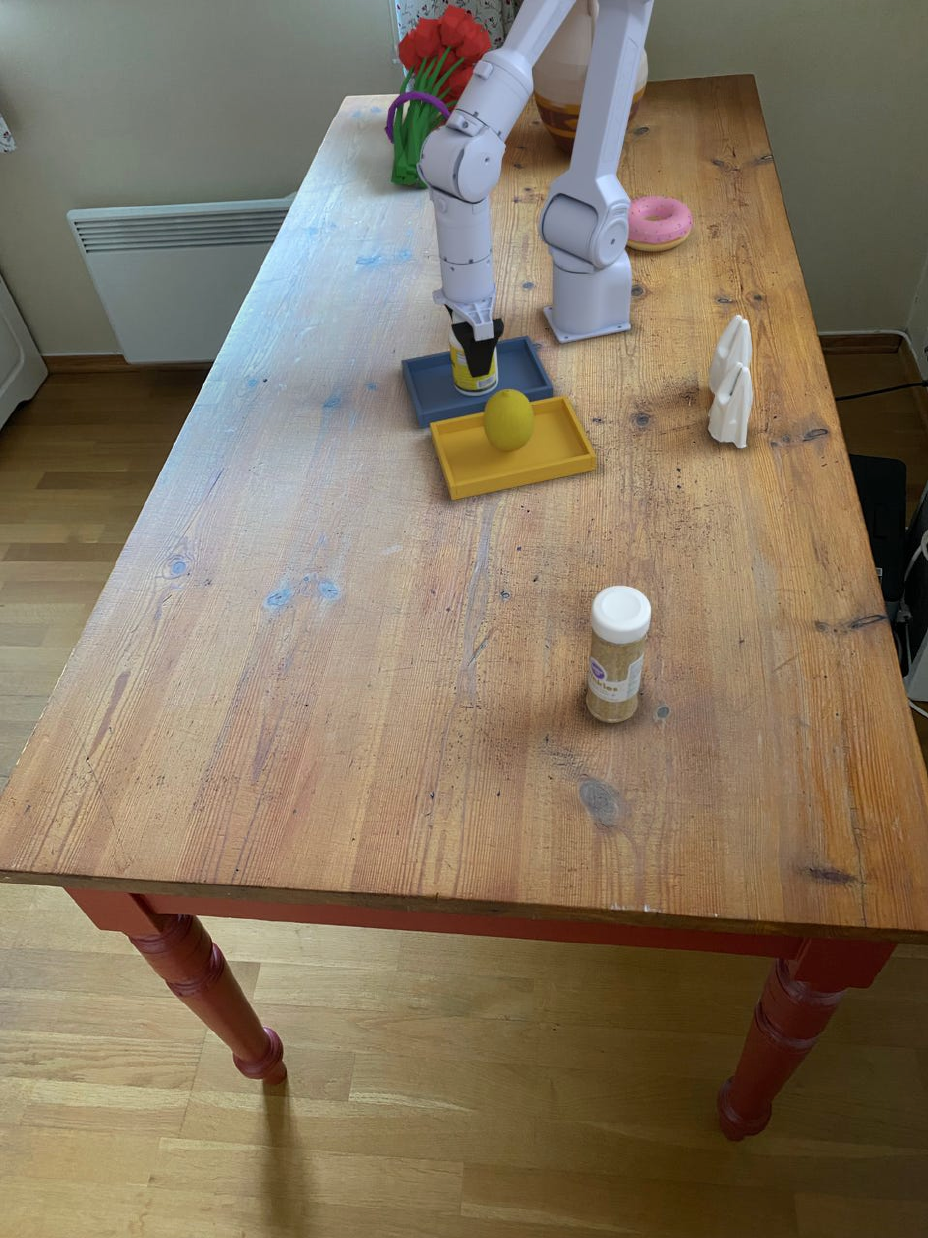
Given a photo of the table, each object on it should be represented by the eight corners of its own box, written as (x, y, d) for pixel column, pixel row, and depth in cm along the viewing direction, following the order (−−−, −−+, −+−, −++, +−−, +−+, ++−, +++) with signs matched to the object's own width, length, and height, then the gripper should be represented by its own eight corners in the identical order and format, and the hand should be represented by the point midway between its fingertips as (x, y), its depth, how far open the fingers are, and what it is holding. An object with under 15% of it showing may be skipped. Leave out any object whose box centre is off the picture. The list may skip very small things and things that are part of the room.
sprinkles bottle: (575, 707, 78) (579, 610, 68) (605, 673, 80) (613, 574, 70) (619, 734, 76) (630, 638, 66) (648, 699, 78) (663, 600, 68)
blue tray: (528, 348, 112) (528, 334, 111) (553, 401, 105) (553, 387, 104) (403, 373, 111) (401, 360, 109) (420, 428, 104) (418, 414, 102)
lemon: (530, 467, 97) (529, 408, 91) (481, 464, 98) (476, 405, 92) (538, 435, 101) (537, 376, 95) (490, 432, 102) (486, 373, 96)
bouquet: (374, 225, 148) (412, 109, 161) (470, 228, 145) (501, 109, 157) (345, 113, 131) (391, -8, 143) (454, 114, 127) (491, -10, 140)
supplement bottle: (461, 368, 110) (454, 296, 102) (503, 373, 109) (499, 300, 101) (448, 394, 107) (440, 322, 99) (491, 400, 105) (486, 327, 98)
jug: (649, 173, 139) (669, -61, 116) (535, 181, 140) (532, -49, 117) (636, 119, 151) (651, -102, 128) (531, 127, 153) (527, -90, 129)
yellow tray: (566, 408, 104) (566, 394, 103) (595, 469, 97) (596, 455, 96) (431, 436, 103) (429, 422, 101) (451, 500, 96) (450, 486, 94)
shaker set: (705, 380, 105) (719, 296, 97) (742, 381, 105) (759, 296, 96) (707, 447, 98) (722, 361, 90) (746, 448, 97) (765, 363, 89)
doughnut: (669, 211, 131) (672, 182, 128) (705, 245, 124) (709, 216, 121) (601, 228, 130) (602, 199, 126) (633, 263, 123) (636, 234, 120)
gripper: (416, 225, 99) (429, 332, 109) (442, 292, 90) (454, 402, 100) (477, 213, 99) (484, 321, 110) (510, 279, 90) (514, 390, 101)
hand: (474, 359), depth 105 cm, fingers closed on supplement bottle, 5 cm apart
